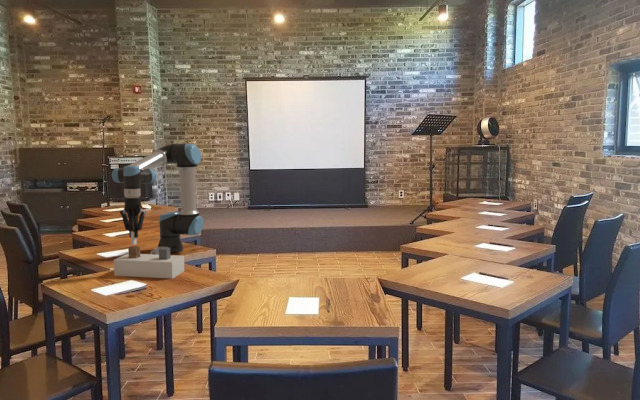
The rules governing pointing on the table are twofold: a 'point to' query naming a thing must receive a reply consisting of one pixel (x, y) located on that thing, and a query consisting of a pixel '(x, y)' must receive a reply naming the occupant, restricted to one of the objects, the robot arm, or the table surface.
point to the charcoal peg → (164, 253)
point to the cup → (156, 250)
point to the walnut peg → (134, 252)
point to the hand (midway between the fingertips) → (134, 244)
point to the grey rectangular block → (149, 266)
